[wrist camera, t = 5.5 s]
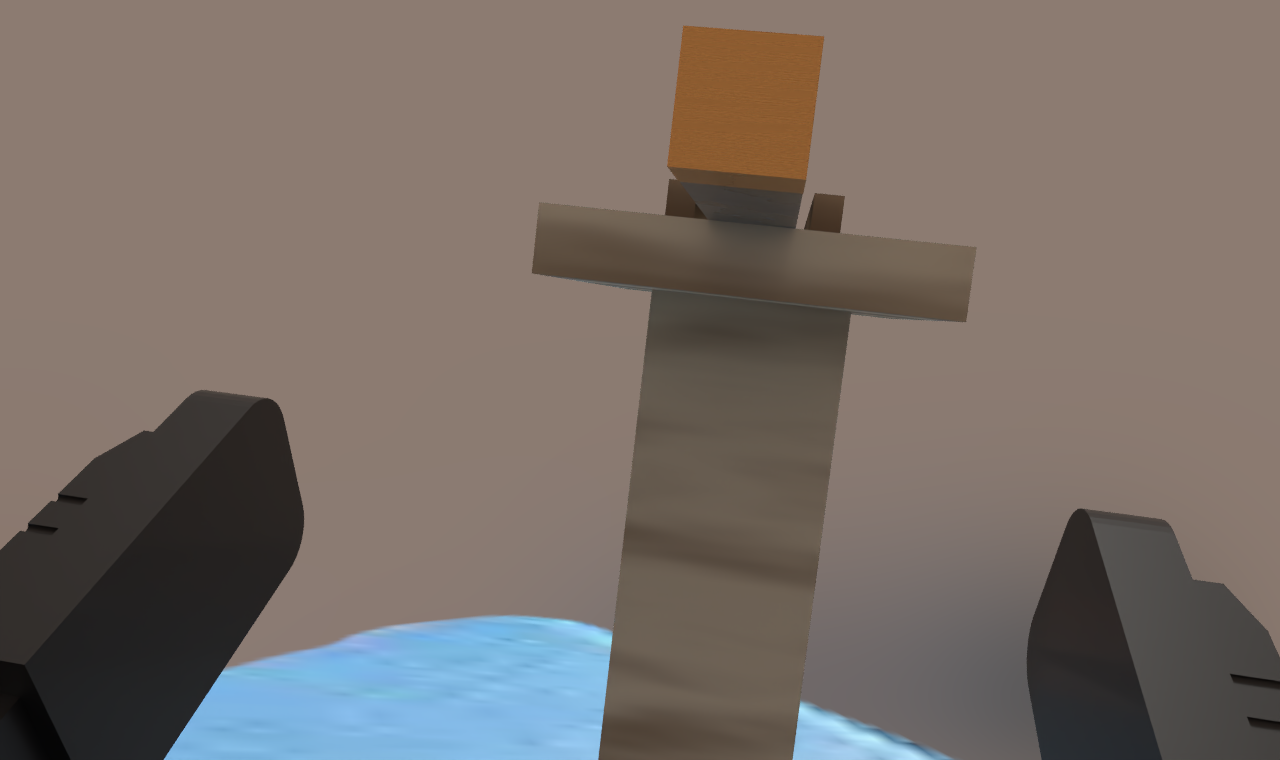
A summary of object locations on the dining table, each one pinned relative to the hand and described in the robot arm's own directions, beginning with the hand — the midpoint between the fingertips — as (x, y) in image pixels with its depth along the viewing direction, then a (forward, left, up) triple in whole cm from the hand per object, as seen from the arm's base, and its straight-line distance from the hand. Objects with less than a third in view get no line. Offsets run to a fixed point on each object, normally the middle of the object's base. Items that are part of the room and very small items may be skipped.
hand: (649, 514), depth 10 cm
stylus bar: (+15, +14, +5) cm, 21 cm away
